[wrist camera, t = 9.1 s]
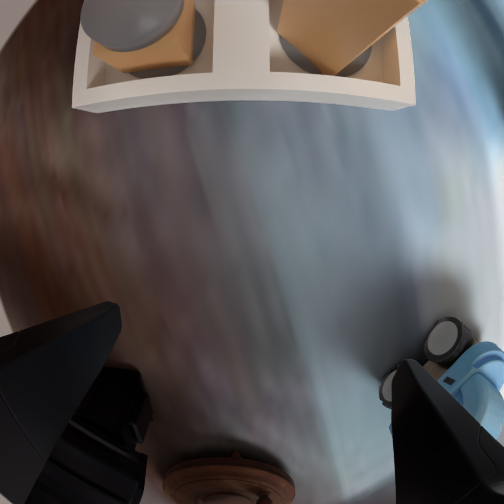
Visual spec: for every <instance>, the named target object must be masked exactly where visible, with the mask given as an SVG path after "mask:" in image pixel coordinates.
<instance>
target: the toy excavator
mask: <svg viewBox="0 0 504 504" xmlns="http://www.w3.org/2000/svg"><path fill="white" fill-rule="evenodd" d="M424 352H425V355H426V357H427V358H428V359H429V361H428V362H427V363H426V364H425V365H424V366H423V368H424V369H425V370H426V371H427V372H428V373H429V374H430V375H431V376H433V377H434V378H435V379H436V380H437V381H438V382H439V383H440V384H441V385H442V386H443V387H444V388H445V389H446V390H447V391H448V392H449V393H450V394H451V395H452V396H453V397H454V398H455V399H456V400H457V401H458V402H459V403H460V404H461V405H462V406H463V407H464V408H465V409H466V410H467V411H468V412H469V413H470V414H471V415H472V416H473V417H474V418H475V419H476V420H477V421H478V422H479V423H480V424H481V426H483V427H484V428H485V429H486V430H487V431H488V432H489V433H490V434H491V435H492V436H493V437H494V438H495V439H497V437H498V436H499V434H500V432H501V429H502V426H503V423H504V400H503V398H502V396H501V394H500V392H499V391H500V389H501V387H502V385H503V383H504V352H503V351H502V350H501V349H500V348H499V347H498V346H497V345H496V344H494V343H492V342H487V341H486V342H480V343H478V342H477V341H476V340H475V339H474V338H473V337H472V334H471V332H470V330H469V329H468V328H467V327H466V326H465V325H464V324H463V323H462V322H460V321H459V320H458V319H456V318H454V317H445V318H443V319H441V320H439V321H437V323H436V326H435V327H434V329H433V330H432V331H431V333H430V334H429V336H428V337H427V338H426V340H425V343H424ZM397 367H399V365H398V366H397ZM396 371H397V370H395V371H393V372H392V373H390V372H391V370H389V371H388V372H387V374H386V375H385V377H384V378H383V380H382V382H381V385H380V388H379V396H380V397H379V398H380V400H381V401H383V403H382V404H383V405H384V406H385V407H387V408H389V409H391V410H392V396H391V383H392V379H393V376H394V374H395V373H396ZM389 429H390V432H391V434H392V426H391V424H390V426H389Z"/></svg>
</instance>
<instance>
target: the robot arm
mask: <svg viewBox="0 0 504 504" xmlns="http://www.w3.org/2000/svg"><path fill="white" fill-rule="evenodd" d="M121 328H122V322H121V314H120V307H119V305H118V304H116V303H112V302H109V301H106V302H103V303H100V304H97V305H94V306H92V307H89V308H86V309H83V310H80V311H77V312H74V313H71V314H68V315H65V316H62V317H59V318H56V319H53V320H50V321H47V322H44V323H41V324H38V325H36V326H33V327H30V328H27V329H24V330H21V331H20V332H19V331H18V332H15V333H12V334H9V335H6V336H3V337H0V494H1V495H2V496H3V497H4V498H6V499H7V500H8V501H9V502H11V503H12V504H139V503H140V501H141V498H142V495H143V491H144V484H145V475H146V466H147V457H148V456H147V455H145V454H143V453H139V452H137V451H135V447H136V444H142V443H143V440H144V437H145V434H146V431H147V428H148V425H149V424H151V423H152V420H153V419H152V413H153V412H152V408H151V405H150V401H149V397H148V394H147V393H146V392H145V390H144V386H143V382H142V378H141V375H140V373H139V372H137V371H134V370H125V369H116V368H109V367H103V366H104V364H105V362H106V360H107V358H108V356H109V354H110V352H111V350H112V348H113V346H114V344H115V342H116V340H117V338H118V336H119V334H120V332H121ZM134 376H136V377H134ZM391 396H392V411H391V426H392V438H393V450H394V464H395V484H396V504H504V447H503V446H502V445H501V444H500V443H499V442H498V441H497V440H496V439H495V438H494V437H493V436H492V435H491V434H490V433H489V432H488V431H487V430H486V429H485V428H484V427H483V426H481V424H480V423H479V422H478V421H477V420H476V419H475V418H474V417H473V416H472V415H471V414H470V413H469V412H468V411H467V410H466V409H465V408H464V407H463V406H462V405H461V404H460V403H459V402H458V401H457V400H456V399H455V398H454V397H453V396H452V395H451V394H450V393H449V392H448V391H447V390H446V389H445V388H444V387H443V386H442V385H441V384H440V383H439V382H438V381H437V380H436V379H435V378H434V377H433V376H431V375H430V374H429V373H428V372H427V371H426V370H425V369H424V368H423V367H422V366H421V365H420V364H419V363H418V362H417V361H416V360H413V359H403V360H402V361H401V363H400V365H399V367H398V369H397V371H396V373H395V374H394V376H393V379H392V383H391Z"/></svg>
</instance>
